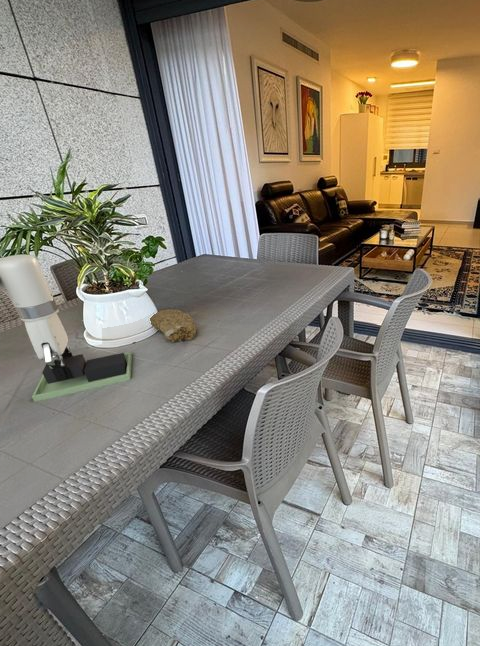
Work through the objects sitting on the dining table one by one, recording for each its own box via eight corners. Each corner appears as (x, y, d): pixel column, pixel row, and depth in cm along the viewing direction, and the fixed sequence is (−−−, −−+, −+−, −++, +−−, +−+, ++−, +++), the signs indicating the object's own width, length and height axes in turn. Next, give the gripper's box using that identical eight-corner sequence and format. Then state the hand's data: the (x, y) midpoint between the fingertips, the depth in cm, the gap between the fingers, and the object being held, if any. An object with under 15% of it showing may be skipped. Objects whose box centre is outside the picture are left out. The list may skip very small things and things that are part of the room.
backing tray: (35, 403, 85) (31, 396, 84) (47, 376, 96) (44, 369, 95) (130, 381, 92) (128, 374, 91) (132, 358, 103) (130, 352, 102)
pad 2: (88, 382, 92) (83, 371, 90) (91, 371, 96) (86, 360, 95) (126, 373, 95) (122, 362, 93) (127, 363, 99) (123, 352, 98)
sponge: (203, 341, 114) (188, 309, 127) (194, 322, 108) (180, 291, 121) (162, 357, 110) (151, 323, 123) (151, 339, 104) (141, 306, 117)
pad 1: (47, 384, 88) (41, 372, 86) (53, 372, 93) (47, 361, 91) (84, 376, 91) (79, 364, 89) (87, 365, 95) (82, 353, 94)
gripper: (28, 300, 88) (57, 361, 97) (6, 326, 74) (42, 394, 83) (63, 294, 91) (88, 354, 100) (48, 319, 77) (78, 386, 86)
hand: (67, 372), depth 91 cm, fingers closed on pad 1, 6 cm apart
